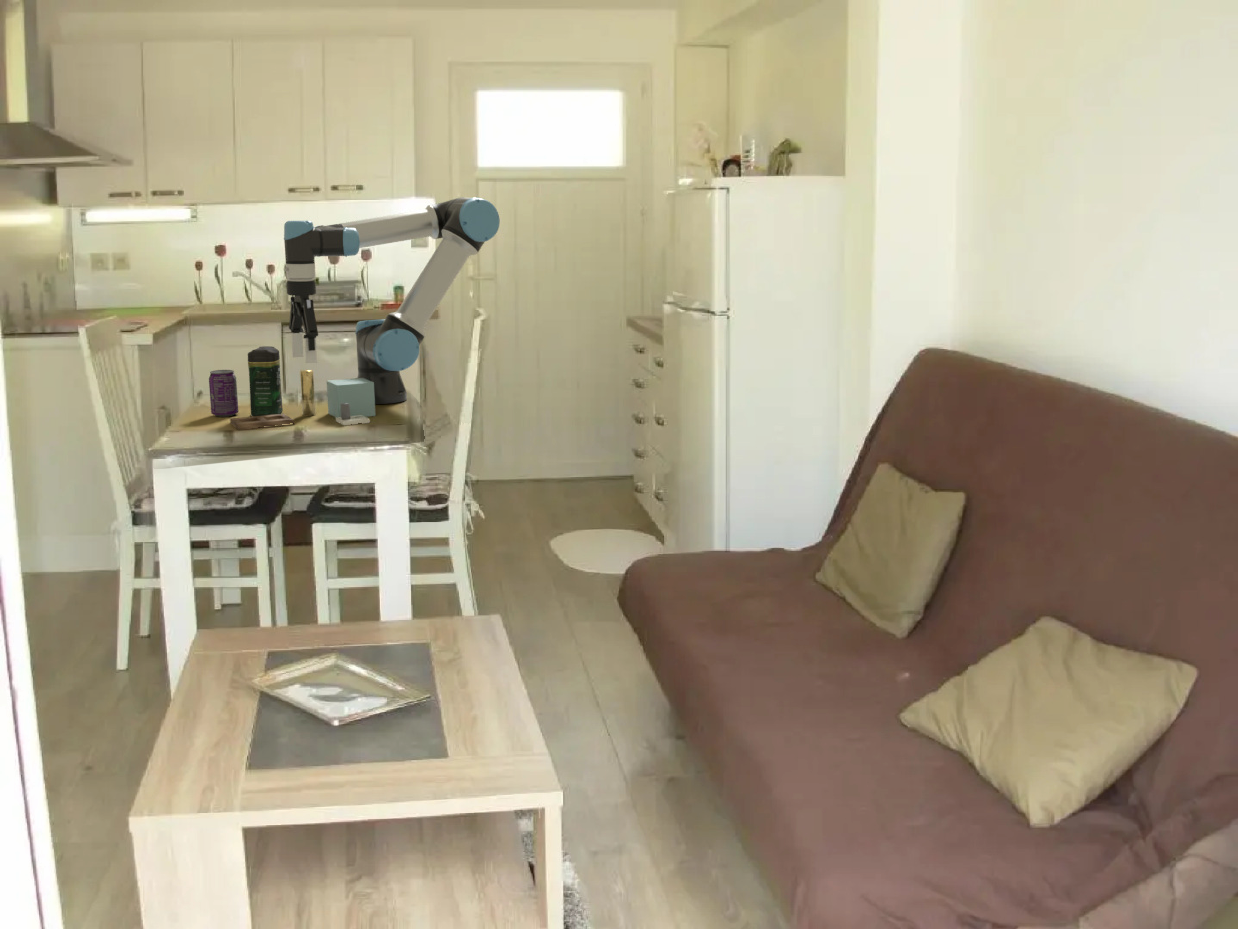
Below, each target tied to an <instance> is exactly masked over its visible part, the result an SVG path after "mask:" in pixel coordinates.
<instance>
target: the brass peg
mask: <svg viewBox="0 0 1238 929" xmlns="http://www.w3.org/2000/svg"><path fill="white" fill-rule="evenodd" d="M299 376H300V391H301V395H300V396H301V408H302V410H301V412H302V416H304V417H311V416H315V415H316V400H315V399H316V398H315V383H314V380H315V379H314V370H313V369H301V370H299Z"/></svg>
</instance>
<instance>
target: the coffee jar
mask: <svg viewBox="0 0 1238 929" xmlns="http://www.w3.org/2000/svg"><path fill="white" fill-rule="evenodd" d="M247 367H248V380H249V401H250V415H251V417H252V416H264V415H275V414H283V410H284V409H283V398H282V396H283V394H282V382H281V381H282V380H281V359H280V350H279V349H277V348H276V347H275V346H269V345H267V346H266V345H264V346H263V345H262V346H259V347H257V348H256V349H252V350H251V351H249V352H247Z"/></svg>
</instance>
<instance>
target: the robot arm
mask: <svg viewBox="0 0 1238 929" xmlns="http://www.w3.org/2000/svg"><path fill="white" fill-rule="evenodd" d="M495 206H496V205H494V204H493V203H492V202H490V201H489V200H487V199H485V198H481V197H477V196H476V197H458V198H454V199H449V200H446V201H443V202H438V203H435V204H430V205H429V204H428V205H427V206H426V208H424V209H419V210H415V211H409V212H402V213H401V212H400V213H397V214H396V213H395V214H390V215H383V216H379V217H378V216H376V217H371V218H365V219H361V220H360V219H358V220H352V221H348V222H347V221H346V222H340V223H336V224H329V225H328V224H327V225H317V226H314V224H313V223H314V222H313V221H311V220H288V221H286V222H285V223H284V224H283V226H284V227H283V228H284V229H283V230H284V231H283V240H284V255H285V256H284V257H285V267H284V268H283V271H284V272H285V273H286V279H288V280H287V281H286V294H287V295H288V296H291V297H290V312H289V325H288V329H289V330H290V332H291V344H292V345H291V346H292V347H291V348H292V358H304V352H305V364H316V363H318V360H317V359H318V358H317V337H318V336H319V332H318V326H317V320H316V314H315V307H314V300H313V299H310V296H314V295H315V294H316V293H317V288H316V286H317V284H316V281H315V280H314V279H315V278H316V276H317V275H316V264H315V257H318V258H320V257H346V258H347V257H353V256H356V255H357V254H359V251H360V249H362V248H368V247H375V246H380V245H386V244H393V243H399V242H404V241H410V240H411V241H412V240H415V239H421V238H422V239H423V238H427V237H429V238H431V239H433V240H437V239H441V241H440V242H439V244H438V246H437V247H436V249H435V251H434V252H433V254H432V255H431V257H430V259H428V262H427V263H426V265H425V267H424V268H423V270H422V271H421V272H420V275H419V276H418V277H417V279H416V280H415V282H414V284H413V286H412V287H411V288H410V290H409V292H408V293H407V295H406V296H405V298H404V300H403V301H402V302H401V304H400V306H399V307H398V308H397V310H395V312H390V313H388V314H387V315H386V317H385V319H371V320H370V319H369V320H359V321H358V322H357V323H356V324H355V325H356V326H355V339H356V359H357V377H356V378H364V379H367V380H369V381H371V382H374V396H375V405H386V404H387V405H389V404H396V403H401V402H404V401H407V399H408V396H407V395H408V393H407V389H406V387H405V384H404V381H403V378H402V376H401V373H400V372H401V371H404V370H406V369H407V370H408V369H409V368H410V367H412V366H413V365H414V364H415V363H416V361H417V360H418V358H419V355H420V346H421V344H422V342H423V340H424V339H425V337H426V334H425V330H424V329H425V327H426V325H427V323H428V322H429V320H430V319H431V318H432V316H433V314H434V313H435V311H436V310H437V308H438V306H439V305H440V303H441V301H442V300H443V299H444V296H445V295H446V293H447V292H448V290H449V289H450V287H451V286H452V284H453V282H454V281H455V279H456V278H457V276H458V274H459V273H460V272H461V270H462V268H463V267H464V265H465V264H466V263H467V260H468V258H469V257H471V256H474V255H477V254H478V253H479V252H480V250H481V249H482V247H483V246H484V244H485V242H488V241H489V240H491V239H493V238H494V237H495V236H496V234H497V233H498V231H499V228H500V216H499V212H498V210H497V208H496V207H495ZM303 333H305V334H304V335H303ZM303 339H304V340H303Z"/></svg>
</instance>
